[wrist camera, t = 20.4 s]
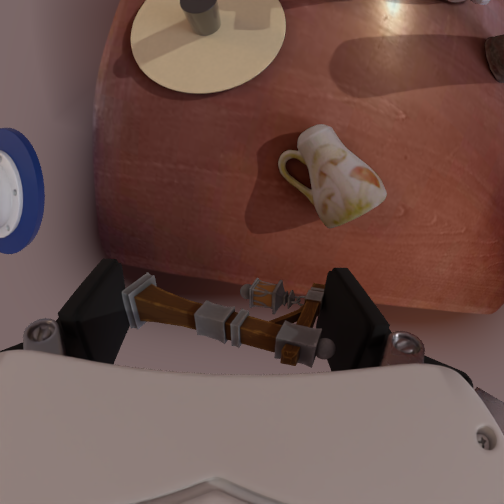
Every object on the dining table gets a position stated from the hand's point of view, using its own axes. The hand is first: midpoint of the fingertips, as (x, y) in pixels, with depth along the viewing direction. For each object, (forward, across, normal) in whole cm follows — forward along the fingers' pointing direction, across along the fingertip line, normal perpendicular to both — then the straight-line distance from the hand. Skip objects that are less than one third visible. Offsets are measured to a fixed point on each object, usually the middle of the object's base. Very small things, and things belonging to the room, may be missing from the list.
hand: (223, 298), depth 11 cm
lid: (+19, +4, -18) cm, 26 cm away
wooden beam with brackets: (+1, 0, 0) cm, 1 cm away
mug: (+19, -10, -3) cm, 22 cm away
